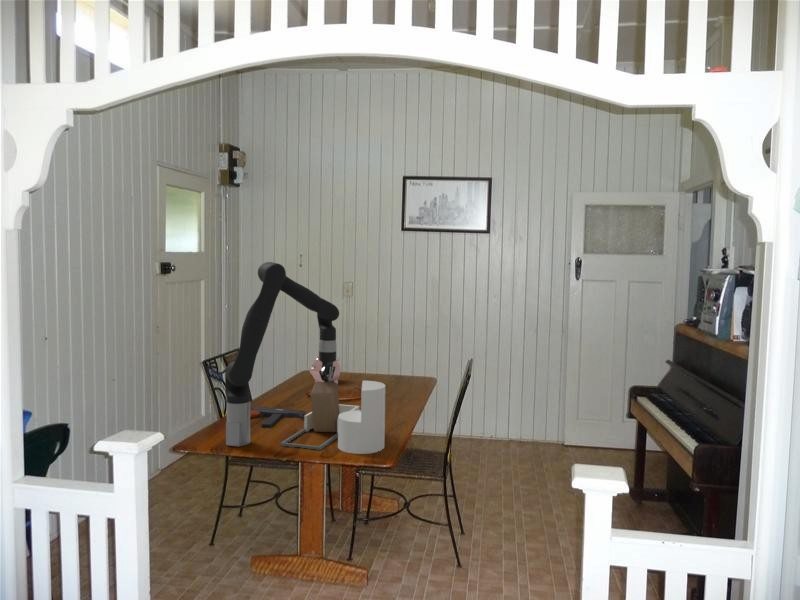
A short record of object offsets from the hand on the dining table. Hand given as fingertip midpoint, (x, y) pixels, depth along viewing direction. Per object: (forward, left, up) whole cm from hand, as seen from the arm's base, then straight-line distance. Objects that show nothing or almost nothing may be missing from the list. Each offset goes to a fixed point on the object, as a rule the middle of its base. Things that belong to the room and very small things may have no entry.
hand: (327, 389), depth 283 cm
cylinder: (-17, -22, -18) cm, 34 cm away
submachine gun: (+6, +30, -19) cm, 36 cm away
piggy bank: (+88, +39, -18) cm, 98 cm away
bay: (-16, 0, -18) cm, 24 cm away
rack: (+6, 0, -18) cm, 19 cm away
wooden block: (0, 0, -16) cm, 16 cm away
